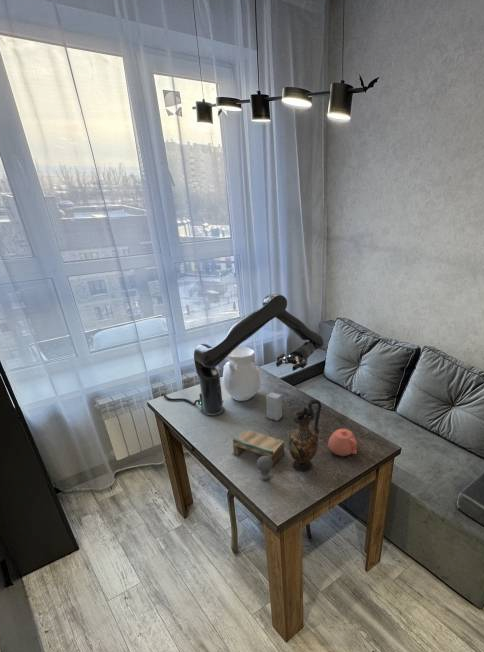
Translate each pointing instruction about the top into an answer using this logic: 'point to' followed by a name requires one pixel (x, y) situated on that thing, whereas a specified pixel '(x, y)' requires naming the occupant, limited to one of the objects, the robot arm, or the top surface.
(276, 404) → the cosmetic box
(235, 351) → the pitcher
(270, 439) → the wooden step stool
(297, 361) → the robot arm
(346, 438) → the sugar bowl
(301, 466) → the vase
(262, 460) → the light bulb
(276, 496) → the top surface
